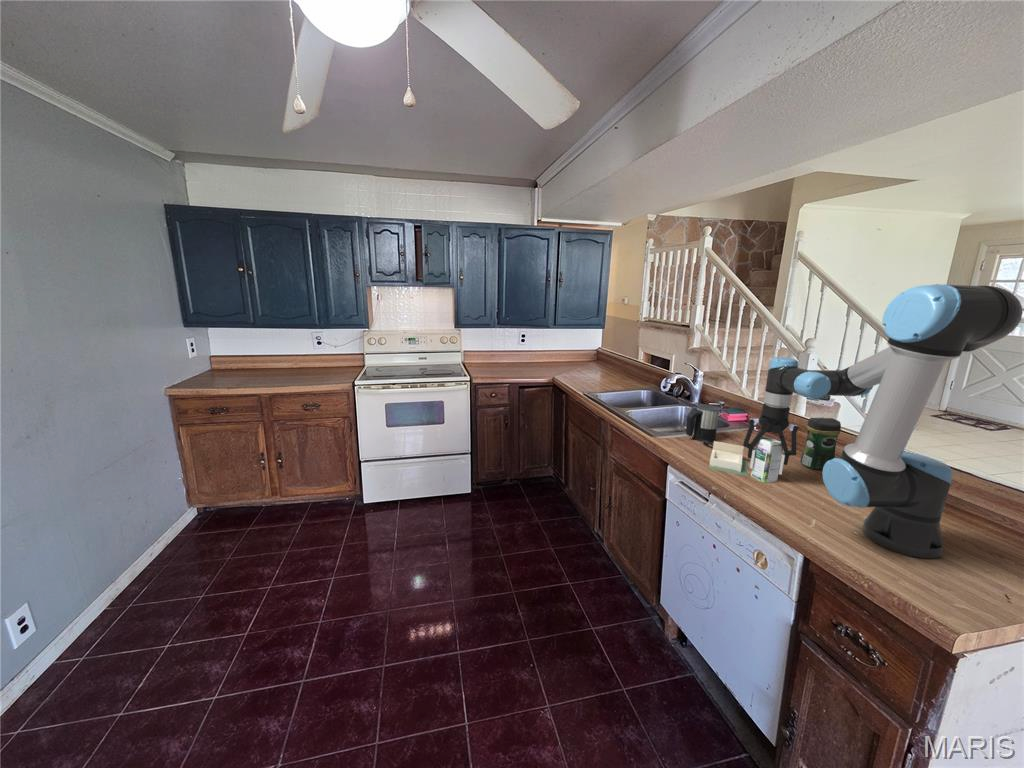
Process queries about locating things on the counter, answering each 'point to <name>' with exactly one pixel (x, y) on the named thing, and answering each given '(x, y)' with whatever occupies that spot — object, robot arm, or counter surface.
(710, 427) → the milk frother
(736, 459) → the cream hollow box
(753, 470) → the syrup box
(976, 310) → the robot arm
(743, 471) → the board
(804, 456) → the coffee jar
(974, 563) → the counter surface
